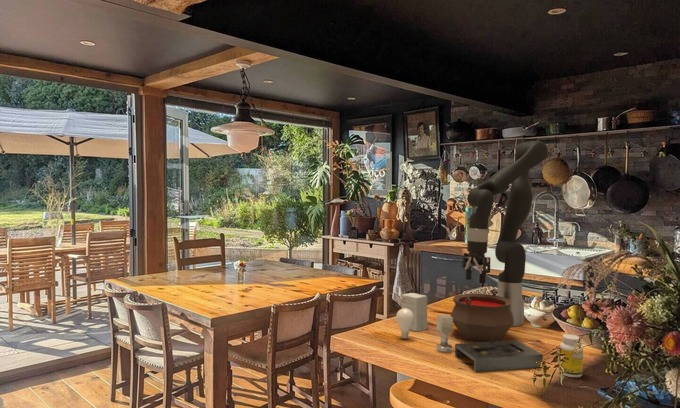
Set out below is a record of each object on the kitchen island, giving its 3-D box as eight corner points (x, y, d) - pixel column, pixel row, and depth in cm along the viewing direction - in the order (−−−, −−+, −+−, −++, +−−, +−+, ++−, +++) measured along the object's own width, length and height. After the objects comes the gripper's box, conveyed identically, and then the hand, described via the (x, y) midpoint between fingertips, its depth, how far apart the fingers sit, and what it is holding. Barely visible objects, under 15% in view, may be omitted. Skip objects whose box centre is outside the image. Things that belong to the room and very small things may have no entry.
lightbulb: (415, 337, 170) (416, 307, 170) (410, 342, 164) (411, 311, 164) (399, 335, 173) (399, 305, 173) (393, 339, 167) (393, 309, 167)
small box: (427, 329, 181) (427, 295, 181) (416, 332, 177) (416, 298, 177) (411, 324, 187) (412, 292, 187) (400, 327, 183) (401, 294, 183)
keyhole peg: (448, 347, 160) (448, 313, 159) (454, 352, 155) (454, 317, 154) (434, 348, 159) (434, 314, 158) (440, 353, 154) (440, 318, 153)
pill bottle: (554, 370, 140) (555, 333, 139) (574, 369, 140) (575, 333, 140) (566, 378, 133) (567, 340, 133) (587, 377, 134) (587, 339, 134)
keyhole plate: (516, 352, 155) (516, 339, 155) (542, 367, 142) (542, 353, 142) (454, 356, 151) (455, 343, 151) (475, 372, 137) (475, 358, 137)
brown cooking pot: (498, 352, 155) (499, 303, 155) (435, 336, 172) (436, 292, 171) (526, 336, 173) (527, 292, 173) (466, 323, 189) (467, 283, 189)
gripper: (497, 242, 177) (494, 284, 177) (474, 238, 190) (471, 278, 191) (481, 241, 174) (478, 285, 175) (458, 238, 188) (456, 278, 188)
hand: (474, 281), depth 183 cm, fingers open, 8 cm apart
